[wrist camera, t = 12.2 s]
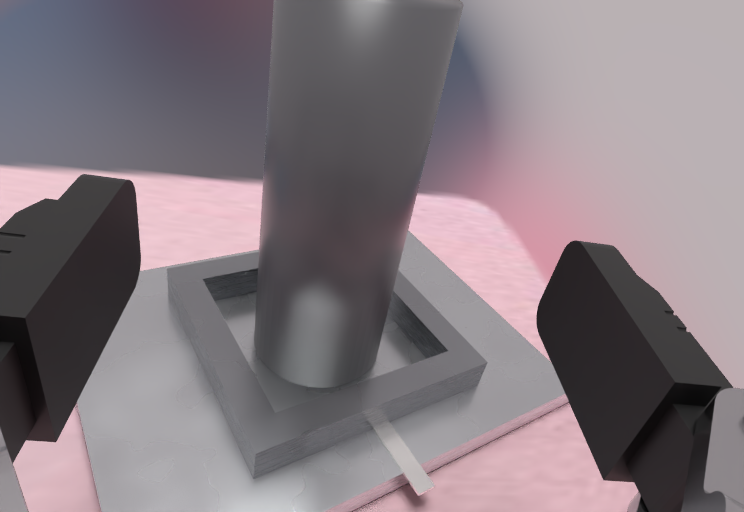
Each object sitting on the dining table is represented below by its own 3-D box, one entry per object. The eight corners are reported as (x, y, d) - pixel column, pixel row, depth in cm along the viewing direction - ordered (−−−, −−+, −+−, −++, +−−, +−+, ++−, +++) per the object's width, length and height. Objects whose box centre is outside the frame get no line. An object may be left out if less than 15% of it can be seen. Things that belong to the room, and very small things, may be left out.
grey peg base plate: (134, 661, 12) (127, 622, 11) (54, 303, 20) (45, 261, 19) (585, 416, 20) (608, 381, 19) (398, 236, 28) (406, 204, 27)
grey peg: (285, 405, 17) (337, -32, 10) (235, 315, 20) (247, -71, 13) (401, 364, 19) (510, -13, 12) (341, 288, 22) (400, -50, 15)
